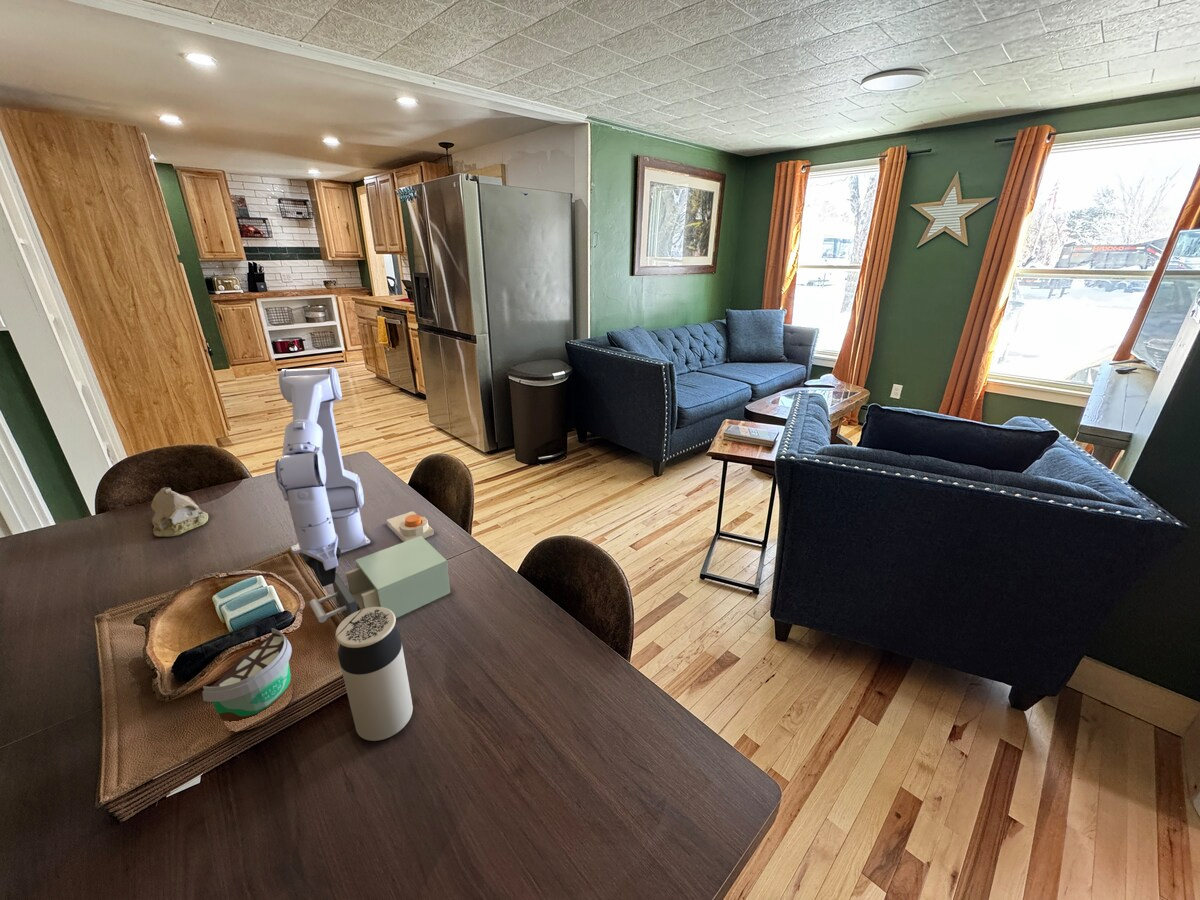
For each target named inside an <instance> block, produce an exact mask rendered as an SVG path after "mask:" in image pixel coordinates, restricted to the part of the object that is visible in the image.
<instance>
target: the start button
mask: <svg viewBox="0 0 1200 900" xmlns="http://www.w3.org/2000/svg"><path fill="white" fill-rule="evenodd" d="M416 514H417V513H416ZM416 514H414V515H409V516H407V517H406V518H405V523H406V527H416V526H419V525H421V517H422V516H421V515H419V514H417V515H416ZM420 516H421V517H420Z"/></svg>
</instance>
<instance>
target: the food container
mask: <svg viewBox="0 0 1200 900" xmlns="http://www.w3.org/2000/svg"><path fill="white" fill-rule="evenodd" d="M270 629H271V634H270V635H269V636H268V637H267V638H265V640H264V641H263V642H261V643H260V644H259V645H257V646H256V647H255V648H253V649H252V650H250V651H249V652H248V653H246V654H244V655H243V656H242V657H241V658H240V659H239V660H238V661H237V662H236V663H235V664H234V665H233V666H232V667H231V668H230V669H229V670H228V671H227V672H226V673H225V674H224V675H223V676H222V677H221V678H219V680H217V681H216V682H215V683H214V684H212V685H211V686H204V685H203V686H202V688H203V691H202V700H203V702H208V703H211V704H212V706H213V707H214V709H215V711H216V712H217V714H218V716H219V717H220V719H221V720H223V721H229V722H231V721H239V720H242V719H246V718H249V717H252V716H255V715H257V714H258V713H260V712H262V711H264V710H266V709H267V708H269V707H270V706H272V705H273V704H275V703H276V702H277V701H278V700H280V699H281V698H282V697H283V695H284V694H286V692H287V690H288V689H289V687H290V684H291V680H292V674H291V669H290V662H289V661H290V659H291V657H292V652H293V648H292V644H291V642H290V641H289V640H288V638H287V636H286V635H285V634H284V633H283V632H281V631H280V630H278V629H276V628H270ZM223 721H222V722H223Z"/></svg>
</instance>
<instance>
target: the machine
mask: <svg viewBox="0 0 1200 900" xmlns="http://www.w3.org/2000/svg"><path fill="white" fill-rule="evenodd" d="M355 564H356V568H360V569H361V571H362V572H363V573H364V575H365V576H366V577H367V579H368V580H369V581H370V583H371V584H372V585H373V587H374V588H375V589H376V591H377V596H378V601H379V606H380V607H383V608H387V609H389V610H391V611H392V612H393V613H394V615H395V618H396V619H398V618H400V617H402V616H404V615H406V614H409V613H411V612H413V611H415V610H417V609H419V608H421V607H423V606H425V605H427V604H430V603H432V602H434V601H437V600H438V599H441V598H443V597H445V596H447V595H449V594H451V586H450V584H451V583H450V577H449V567H448V560H447V559H446V558H445V557H444V556H443V555H442V554H441V553H440V552H439V551H437V550H436V548H434V546H433V545H431V544H430V543H429V542H428V540H426V538H423V537H422V536H419V537H416V538H414V539H411V540H408V541H405V542H403V541H402V542H400V543H397V544H395V545H392V546H390V547H387V548H384V549H381V550H378V551H376V552H373V553H371V554H368V555H364V556H363V557H359V558H357V559H355Z"/></svg>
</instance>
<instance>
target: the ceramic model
mask: <svg viewBox="0 0 1200 900" xmlns="http://www.w3.org/2000/svg"><path fill="white" fill-rule="evenodd" d="M150 506H151V509H152V511H153V512H155V513H153V517H152V519H151V522H152V526H154V527H153V529H152V531H153V532H152V533H153V535H154V536H155V537H176V536H180V535H182V534H184V533H186V532H188V531H190V530H191V531H192V530H193V529H195V528H199V527H201V526H203V525H205V524H206V523H207V522H208V519H209V513H207V512H206V511H203V510H202V509H200V507H199V505H198V504H197V503H196V502H195V501H194V500H193V499H192V498H191V497H189V496H188V495H183V494H181V493H178V492H176V491H173V490H172V489H171V487H168V486H167V487H165V486H164V487H162V488H160V489H159V491H158V492H157V493H155V495H154V497H153V499H152V501H151V504H150Z"/></svg>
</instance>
